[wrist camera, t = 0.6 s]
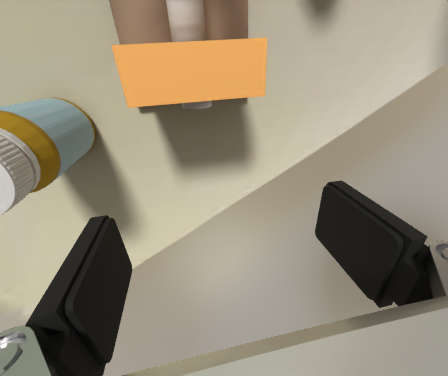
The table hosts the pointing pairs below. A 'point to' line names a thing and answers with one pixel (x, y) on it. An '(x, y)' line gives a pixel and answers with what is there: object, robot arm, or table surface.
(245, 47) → the collar
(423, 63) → the table surface
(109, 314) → the robot arm
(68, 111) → the bottle
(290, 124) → the table surface
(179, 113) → the table surface
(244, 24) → the pipe stand
